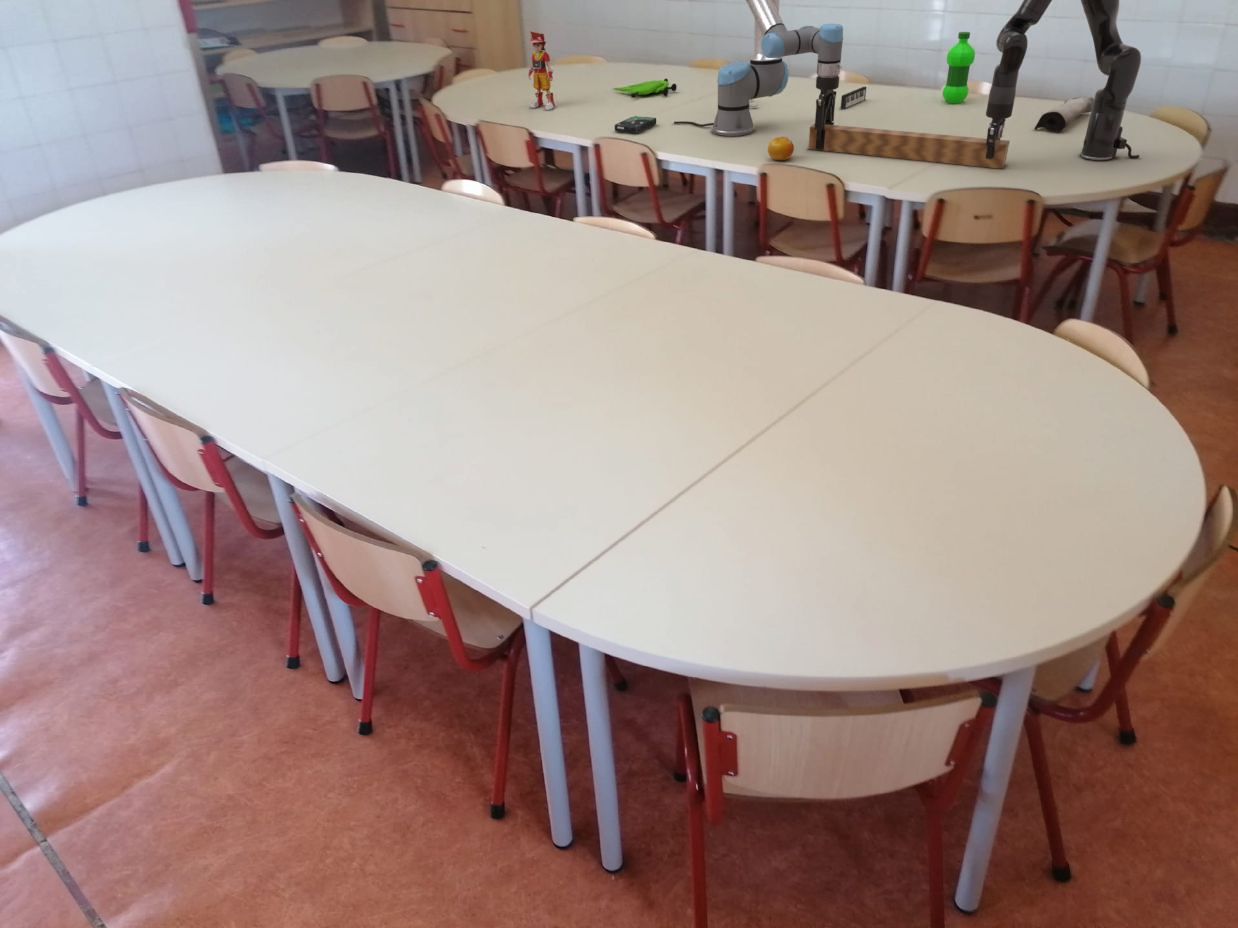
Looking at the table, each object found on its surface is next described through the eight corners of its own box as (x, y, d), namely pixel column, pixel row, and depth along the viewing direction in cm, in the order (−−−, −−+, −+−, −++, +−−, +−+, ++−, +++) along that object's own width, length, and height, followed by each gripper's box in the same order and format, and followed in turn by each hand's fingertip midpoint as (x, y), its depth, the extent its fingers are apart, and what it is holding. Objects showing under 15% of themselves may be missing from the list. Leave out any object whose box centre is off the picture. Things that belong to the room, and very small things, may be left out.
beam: (808, 149, 312) (809, 127, 308) (813, 145, 316) (815, 123, 312) (1001, 169, 284) (1006, 145, 280) (1005, 164, 287) (1009, 140, 283)
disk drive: (637, 135, 339) (656, 124, 349) (637, 127, 338) (656, 117, 348) (614, 132, 344) (634, 122, 354) (613, 125, 343) (633, 115, 353)
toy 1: (525, 109, 381) (517, 32, 364) (534, 104, 388) (527, 28, 371) (550, 110, 377) (543, 32, 360) (559, 105, 384) (553, 28, 367)
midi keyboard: (843, 109, 354) (844, 96, 351) (840, 109, 355) (841, 95, 352) (865, 100, 365) (866, 87, 362) (862, 99, 365) (863, 86, 362)
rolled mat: (1062, 101, 334) (1086, 84, 326) (1075, 122, 335) (1100, 105, 327) (1030, 123, 317) (1055, 105, 309) (1044, 145, 318) (1070, 128, 309)
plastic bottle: (973, 101, 354) (984, 32, 339) (955, 106, 349) (966, 36, 335) (952, 97, 361) (962, 29, 346) (934, 102, 356) (944, 33, 342)
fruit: (761, 151, 301) (775, 129, 298) (766, 153, 309) (779, 132, 306) (781, 165, 300) (795, 143, 297) (786, 167, 307) (800, 146, 304)
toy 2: (686, 85, 398) (631, 84, 414) (685, 72, 395) (629, 72, 411) (651, 104, 381) (596, 103, 397) (650, 92, 378) (594, 91, 394)
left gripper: (829, 82, 291) (823, 155, 304) (847, 70, 303) (841, 141, 317) (807, 81, 294) (802, 152, 307) (826, 69, 307) (821, 139, 320)
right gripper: (1009, 107, 270) (998, 163, 279) (1018, 96, 280) (1008, 151, 289) (983, 105, 273) (973, 161, 283) (993, 94, 283) (983, 149, 293)
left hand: (822, 146), depth 312 cm, fingers closed on beam, 5 cm apart
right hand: (991, 156), depth 286 cm, fingers closed on beam, 5 cm apart
